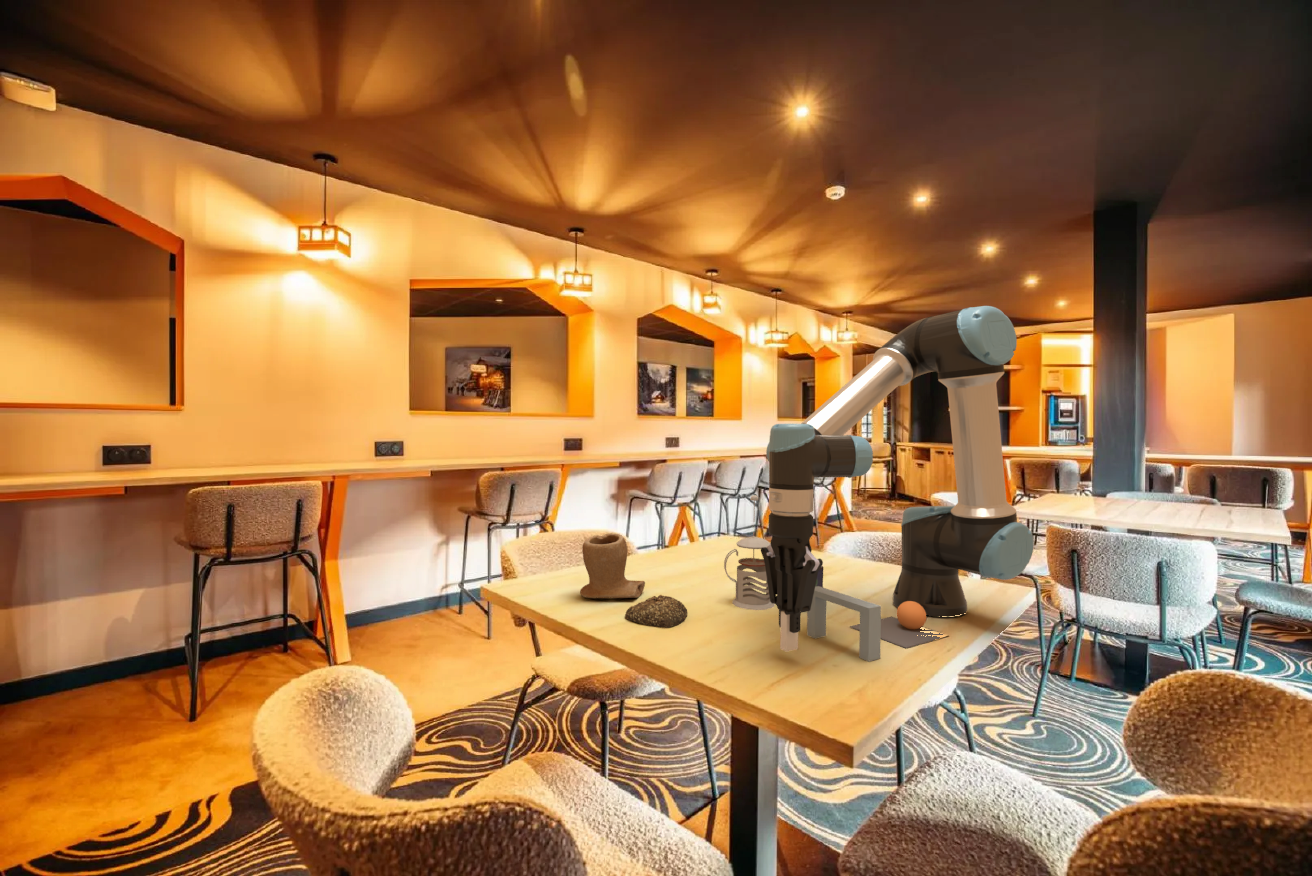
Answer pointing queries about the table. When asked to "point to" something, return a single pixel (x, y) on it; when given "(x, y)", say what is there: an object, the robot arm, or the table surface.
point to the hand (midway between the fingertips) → (789, 648)
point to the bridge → (868, 611)
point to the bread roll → (658, 612)
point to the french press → (746, 594)
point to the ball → (911, 615)
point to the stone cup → (608, 568)
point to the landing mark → (901, 633)
